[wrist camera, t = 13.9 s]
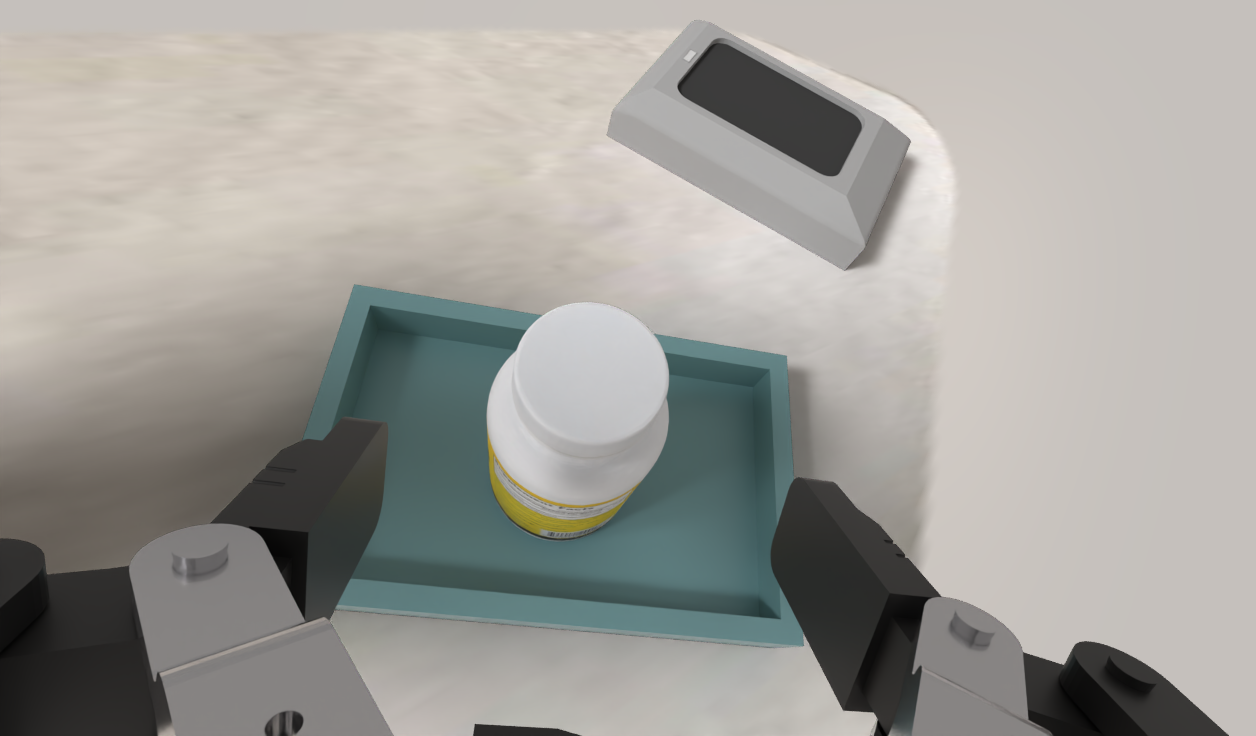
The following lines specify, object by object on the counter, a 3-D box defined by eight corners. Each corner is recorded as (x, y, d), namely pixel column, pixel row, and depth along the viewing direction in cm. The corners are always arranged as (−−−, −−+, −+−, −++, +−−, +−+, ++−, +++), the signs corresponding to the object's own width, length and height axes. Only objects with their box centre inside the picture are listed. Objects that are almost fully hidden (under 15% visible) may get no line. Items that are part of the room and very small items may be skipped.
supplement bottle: (547, 385, 25) (577, 242, 17) (651, 464, 25) (737, 358, 16) (457, 485, 23) (437, 378, 14) (570, 575, 22) (621, 521, 14)
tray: (275, 604, 20) (249, 596, 18) (365, 317, 26) (354, 284, 23) (773, 648, 23) (803, 646, 21) (763, 379, 28) (786, 355, 26)
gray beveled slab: (878, 232, 30) (617, 85, 30) (840, 274, 33) (605, 140, 34) (924, 125, 34) (696, 0, 35) (886, 172, 37) (678, 56, 38)
